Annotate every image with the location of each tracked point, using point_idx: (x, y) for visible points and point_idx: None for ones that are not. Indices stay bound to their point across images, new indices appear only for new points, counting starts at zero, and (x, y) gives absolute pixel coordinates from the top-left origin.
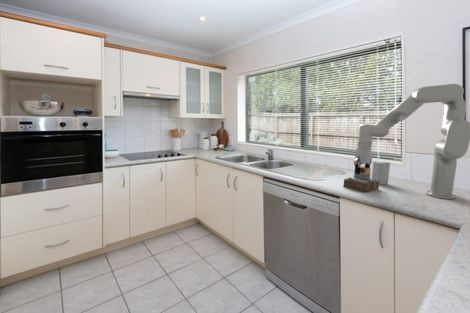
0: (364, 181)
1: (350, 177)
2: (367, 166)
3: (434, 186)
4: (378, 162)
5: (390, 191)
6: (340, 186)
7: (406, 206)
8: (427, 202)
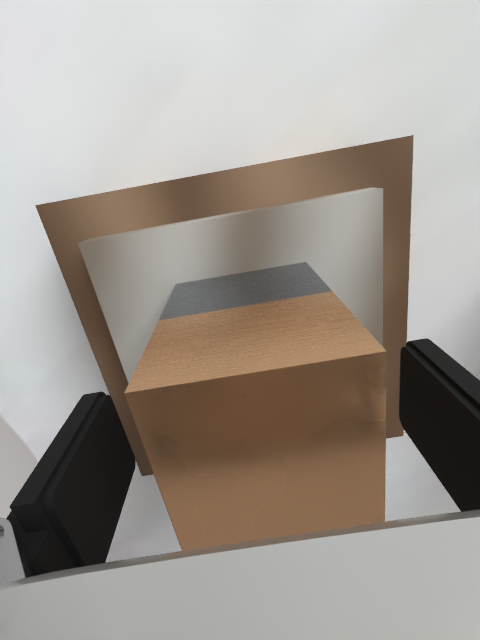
0: None
1: (135, 244)
2: (472, 490)
3: None
4: None
5: (388, 448)
6: (60, 166)
7: None
8: None
